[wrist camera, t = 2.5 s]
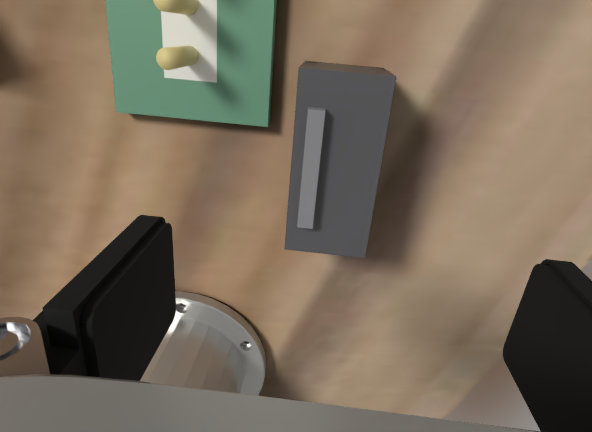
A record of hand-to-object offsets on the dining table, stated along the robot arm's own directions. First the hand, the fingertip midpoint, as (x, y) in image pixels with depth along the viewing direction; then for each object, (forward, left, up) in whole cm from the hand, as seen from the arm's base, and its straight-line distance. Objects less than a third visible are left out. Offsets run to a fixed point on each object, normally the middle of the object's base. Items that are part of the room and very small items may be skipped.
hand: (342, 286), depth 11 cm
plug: (0, 0, -16) cm, 16 cm away
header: (+7, +9, -16) cm, 19 cm away
